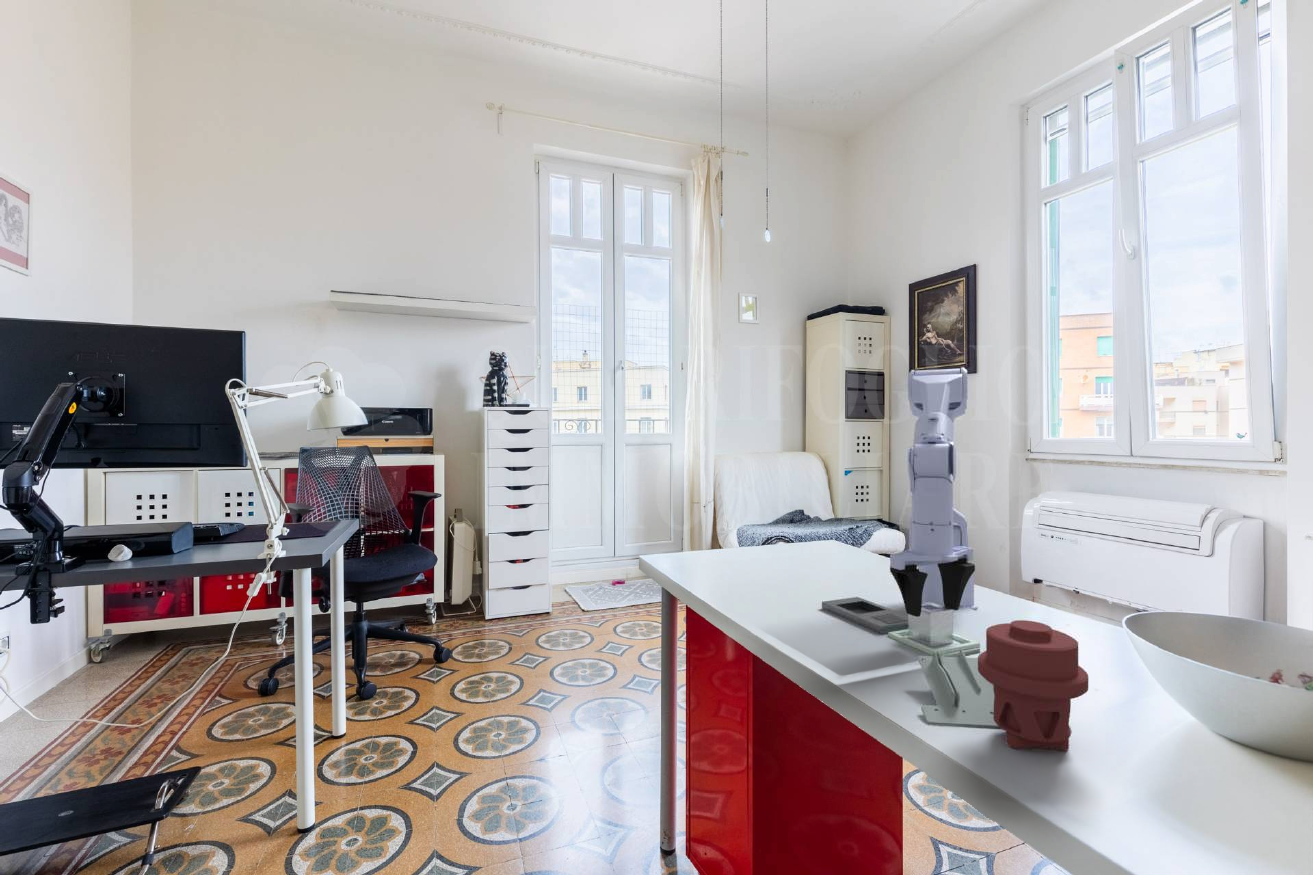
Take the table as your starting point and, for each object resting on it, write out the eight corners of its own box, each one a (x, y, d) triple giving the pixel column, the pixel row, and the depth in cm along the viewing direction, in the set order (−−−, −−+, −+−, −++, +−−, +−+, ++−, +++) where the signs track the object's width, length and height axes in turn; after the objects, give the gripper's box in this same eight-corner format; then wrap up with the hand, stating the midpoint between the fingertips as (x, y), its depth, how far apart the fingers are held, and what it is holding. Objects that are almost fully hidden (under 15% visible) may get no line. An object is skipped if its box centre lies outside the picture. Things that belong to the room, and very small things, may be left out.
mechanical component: (1110, 753, 62) (1045, 776, 58) (1018, 711, 71) (957, 729, 67) (1110, 633, 62) (1045, 648, 58) (1018, 607, 71) (956, 618, 67)
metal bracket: (900, 639, 81) (1022, 643, 78) (898, 676, 82) (1017, 681, 80) (932, 718, 67) (1080, 726, 65) (927, 760, 69) (1072, 770, 66)
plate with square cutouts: (857, 608, 113) (857, 596, 113) (920, 633, 99) (920, 619, 99) (821, 613, 110) (821, 601, 110) (881, 640, 96) (880, 626, 96)
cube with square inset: (929, 636, 96) (929, 601, 96) (952, 645, 92) (952, 608, 92) (908, 640, 94) (908, 604, 94) (930, 649, 90) (930, 612, 90)
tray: (932, 634, 98) (931, 625, 98) (980, 653, 90) (980, 642, 90) (888, 641, 95) (888, 632, 95) (933, 662, 87) (933, 651, 87)
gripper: (915, 530, 86) (915, 625, 86) (990, 522, 91) (990, 612, 91) (879, 522, 92) (880, 611, 93) (951, 516, 98) (952, 600, 98)
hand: (932, 611), depth 92 cm, fingers open, 7 cm apart
